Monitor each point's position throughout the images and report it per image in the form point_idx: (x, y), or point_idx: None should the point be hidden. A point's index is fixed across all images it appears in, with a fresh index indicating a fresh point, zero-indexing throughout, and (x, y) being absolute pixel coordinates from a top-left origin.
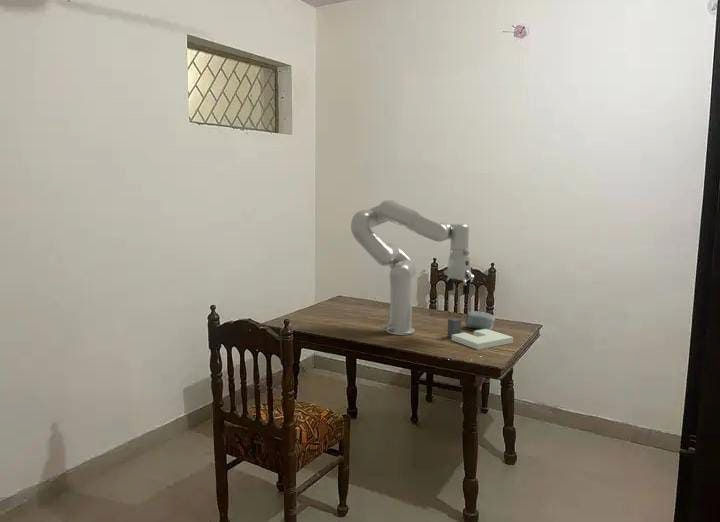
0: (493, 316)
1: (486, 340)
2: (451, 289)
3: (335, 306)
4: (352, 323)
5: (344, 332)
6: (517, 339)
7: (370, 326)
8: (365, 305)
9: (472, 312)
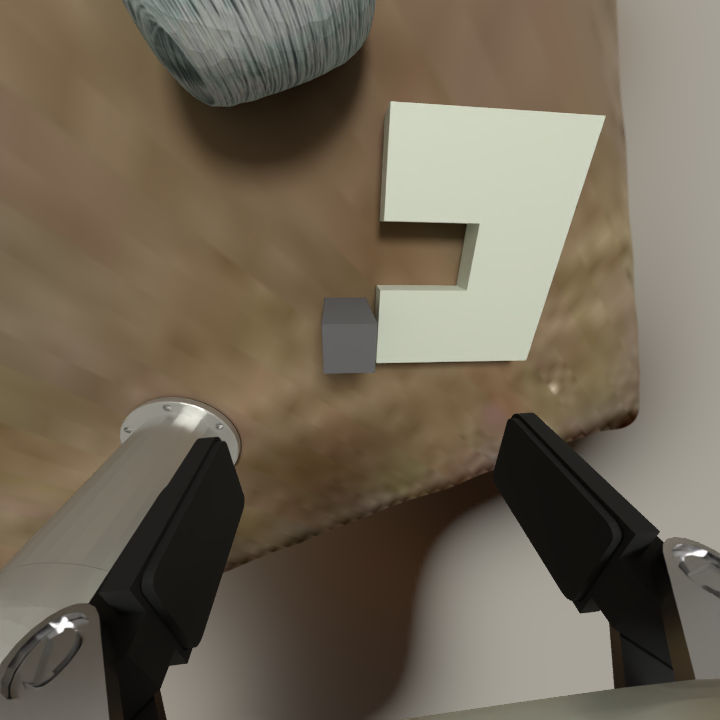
0: None
1: (526, 299)
2: (228, 470)
3: None
4: (14, 512)
5: None
6: (573, 23)
7: (75, 484)
8: None
9: (194, 5)
